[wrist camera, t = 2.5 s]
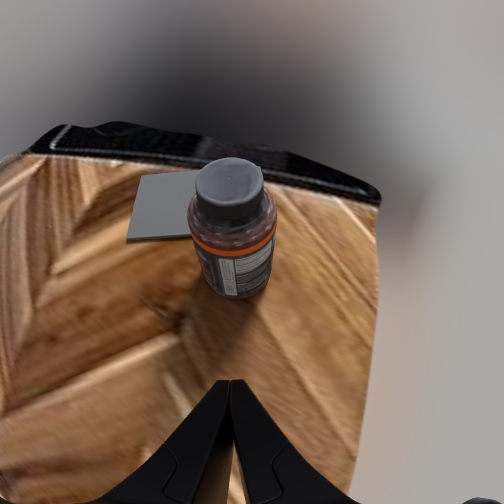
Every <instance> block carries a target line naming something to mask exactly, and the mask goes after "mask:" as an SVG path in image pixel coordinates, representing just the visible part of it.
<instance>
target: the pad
mask: <svg viewBox="0 0 504 504" xmlns="http://www.w3.org/2000/svg"><path fill="white" fill-rule="evenodd" d="M258 168H259V170H260V166H259V167H258ZM260 171H261V170H260ZM199 172H200V170H194V171H183V172H172V173H163V174H154V175H145V176H141V180H140V184H139V188H138V192H137V196H136V200H135V204H134V208H133V212H132V216H131V221H130V225H129V230H128V235H127V240H128V241H129V240H143V239H158V238H173V237H189V236H191V232H190V229H189V225H188V220H187V210H188V205H189V203H190V201H191V199H192V197H193V195H194V194H195V193H196V188H195V181H196V177H197V175H198V173H199Z"/></svg>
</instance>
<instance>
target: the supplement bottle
mask: <svg viewBox="0 0 504 504" xmlns="http://www.w3.org/2000/svg"><path fill="white" fill-rule="evenodd" d="M195 188H196V193H195V194H194V195H193V197H192V199H191V201H190V203H189V205H188V210H187V220H188V225H189V229H190V232H191V236H192V239H193V242H194V246H195V248H196V252H197V255H198V258H199V262H200V264H201V268H202V271H203V274H204V277H205V279H206V281H207V283H208V284H209V286H210V287H211V288H212V289H213V290H214V291H215V292H217V293H218V294H219V295H221V296H223V297H227V298H232V299H243V298H247V297H250V296H252V295H254V294H256V293H258V292H259V291H260V290H261V289H262V288H263V287H264V286H265V285H266V283H267V281H268V279H269V277H270V273H271V268H272V259H273V251H274V243H275V233H276V223H277V207H276V203H275V200H274V198H273V196H272V194H271V193H270V191H269V190H268V189H267V188H266V187H265V186H263V175H262V172H261V171H260V170H259V168H258V167H257V166H256V165H255V164H253V163H251V162H249V161H247V160H243V159H239V158H224V159H220V160H216V161H213V162H211V163H209V164H208V165H206V166H205V167H203V168H202V169H201V170H200V172H199V173H198V175H197V177H196V181H195Z"/></svg>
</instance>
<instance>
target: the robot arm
mask: <svg viewBox="0 0 504 504" xmlns="http://www.w3.org/2000/svg"><path fill="white" fill-rule="evenodd" d="M234 444H235V450H236V456H237V461H238V466H239V471H240V476H241V481H242V486H243V491H244V496H245V500H246V504H360V503H358V502H356V501H354V500H353V499H351V498H350V497H348V496H347V495H346V494H344V493H343V492H342V491H341V490H339V489H338V488H337V487H336V486H334V485H333V484H332V483H331V482H330V481H328V480H327V479H326V478H325V477H324V476H322V475H321V474H320V473H319V472H318V471H317V470H316V469H315V468H313V467H312V466H311V465H310V464H309V463H308V462H307V461H306V460H305V459H304V458H303V456H302V455H301V454H300V453H299V452H298V451H297V450H296V448H295V447H294V446H293V445H292V443H291V442H290V441H289V440H288V438H287V437H286V436H285V435H284V433H283V432H282V431H281V429H280V428H279V427H278V425H277V424H276V423H275V421H274V420H273V419H272V417H271V416H270V415H269V413H268V412H267V411H266V409H265V408H264V407H263V405H262V404H261V403H260V401H259V400H258V398H257V397H256V396H255V394H254V393H253V391H252V390H251V389H250V387H249V386H248V384H247V383H246V382H245V380H243V379H239V380H231V382H230V380H218V381H216V382H215V384H214V385H213V386H212V387H211V388H210V390H209V391H208V392H207V393H206V394H205V396H204V397H203V398H202V399H201V400H200V402H199V403H198V404H197V405H196V406H195V408H194V409H193V410H192V411H191V412H190V413H189V415H188V416H187V417H186V418H185V419H184V420H183V422H182V423H181V424H180V425H179V426H178V427H177V428H176V430H175V431H174V432H173V433H172V434H171V435H170V436H169V438H168V439H167V440H166V441H165V442H164V444H162V445H161V446H160V447H159V449H158V450H157V451H156V452H155V453H154V454H153V455H152V456H151V457H150V458H149V459H148V460H147V461H146V462H145V463H144V464H143V465H141V466H140V467H139V468H138V469H137V470H136V471H134V472H133V473H132V474H131V475H129V476H128V477H127V478H126V479H124V480H123V481H122V482H121V483H119V484H118V485H117V486H115V487H114V488H113V489H111V490H110V491H109V492H107V493H106V494H104V495H103V496H101V497H99V498H98V499H95V500H93V501H89V502H85V503H76V504H227V497H228V489H229V481H230V473H231V465H232V457H233V448H234ZM0 504H14V503H11V502H8V501H6V500H4V499H3V498H1V497H0ZM463 504H501V503H500V502H497V501H495V500H492V499H486V498H479V497H477V498H472V499H470V500H468V501H466V502H464V503H463Z"/></svg>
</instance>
